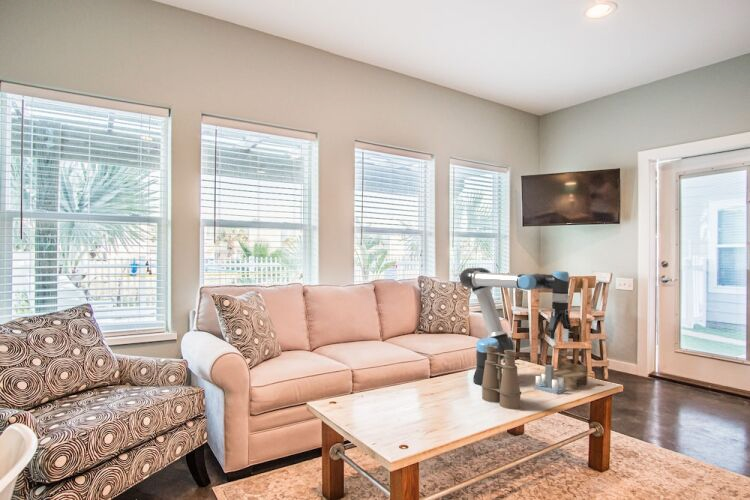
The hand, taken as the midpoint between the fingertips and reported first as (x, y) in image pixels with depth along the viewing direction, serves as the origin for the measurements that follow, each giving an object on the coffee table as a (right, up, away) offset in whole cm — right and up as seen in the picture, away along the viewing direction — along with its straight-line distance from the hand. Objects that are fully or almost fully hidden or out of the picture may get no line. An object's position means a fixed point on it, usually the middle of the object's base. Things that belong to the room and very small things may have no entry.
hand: (559, 343), depth 213 cm
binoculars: (-34, -25, -16) cm, 45 cm away
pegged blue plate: (-3, -25, +4) cm, 25 cm away
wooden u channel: (+11, -25, +13) cm, 30 cm away
